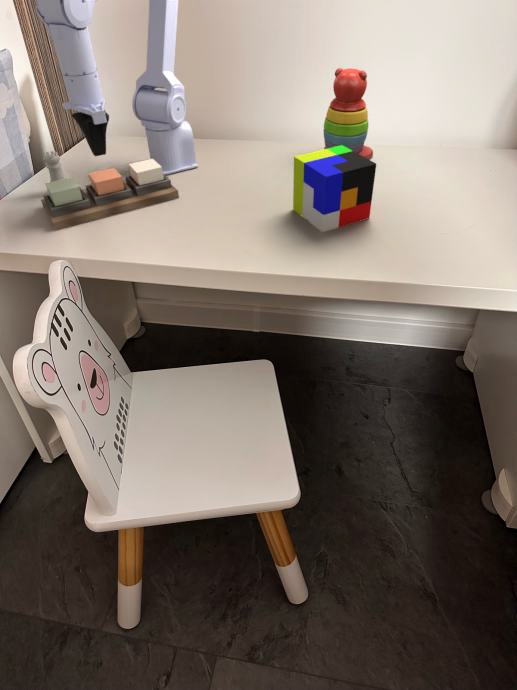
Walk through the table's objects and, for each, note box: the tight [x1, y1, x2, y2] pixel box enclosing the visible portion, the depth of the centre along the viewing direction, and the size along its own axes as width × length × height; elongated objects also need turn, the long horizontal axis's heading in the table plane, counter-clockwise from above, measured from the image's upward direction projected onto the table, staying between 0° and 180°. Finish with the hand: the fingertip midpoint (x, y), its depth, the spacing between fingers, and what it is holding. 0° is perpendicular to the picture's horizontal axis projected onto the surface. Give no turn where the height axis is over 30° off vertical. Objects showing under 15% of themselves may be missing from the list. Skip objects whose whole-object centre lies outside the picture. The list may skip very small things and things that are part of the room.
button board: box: [40, 174, 180, 231], centre depth 96 cm, size 24×11×3 cm, turn 119°
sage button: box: [44, 176, 83, 206], centre depth 92 cm, size 5×5×2 cm
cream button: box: [128, 158, 164, 185], centre depth 97 cm, size 5×5×2 cm
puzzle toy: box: [292, 145, 377, 233], centre depth 88 cm, size 10×10×10 cm
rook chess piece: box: [42, 150, 67, 182], centre depth 99 cm, size 4×4×8 cm
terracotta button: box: [87, 167, 124, 196], centre depth 95 cm, size 5×5×2 cm
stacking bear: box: [323, 67, 374, 160], centre depth 105 cm, size 11×10×18 cm
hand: (99, 154), depth 91 cm, fingers closed
